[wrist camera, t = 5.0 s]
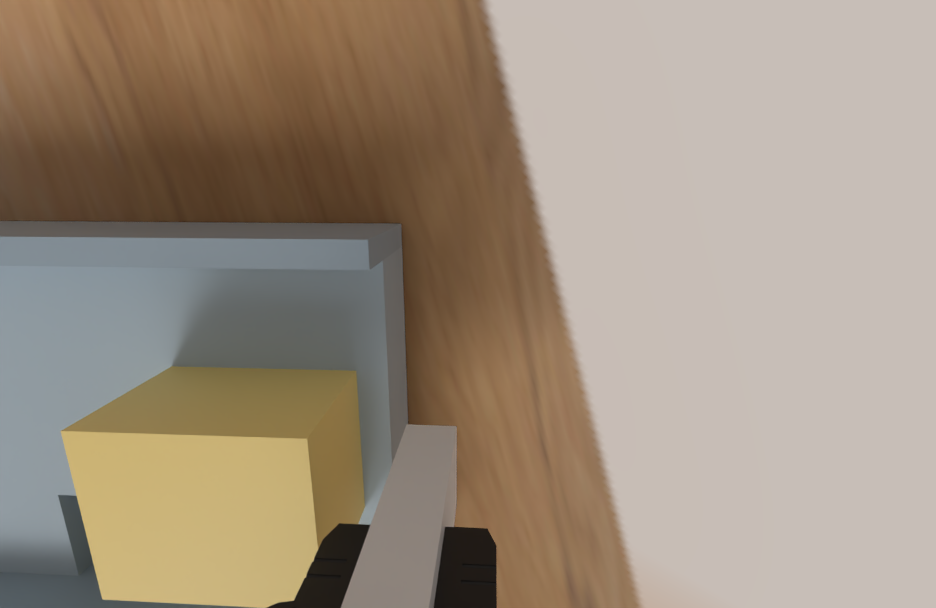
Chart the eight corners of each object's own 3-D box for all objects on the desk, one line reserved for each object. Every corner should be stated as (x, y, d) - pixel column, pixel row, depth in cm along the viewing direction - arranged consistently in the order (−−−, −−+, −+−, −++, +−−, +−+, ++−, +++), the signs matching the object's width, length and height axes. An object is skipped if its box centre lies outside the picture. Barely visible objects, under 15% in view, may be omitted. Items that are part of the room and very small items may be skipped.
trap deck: (412, 546, 20) (382, 679, 15) (-131, 523, 21) (-339, 637, 16) (401, 223, 16) (356, 244, 11) (-249, 219, 18) (-565, 236, 12)
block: (365, 506, 16) (323, 610, 12) (194, 500, 16) (102, 599, 12) (356, 370, 15) (307, 438, 11) (171, 366, 15) (60, 431, 11)
